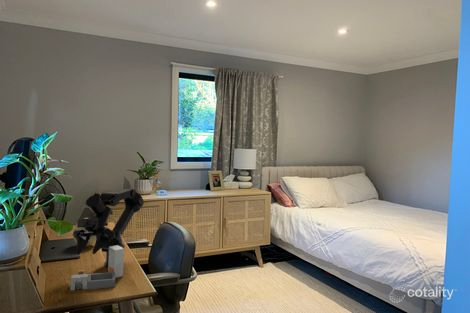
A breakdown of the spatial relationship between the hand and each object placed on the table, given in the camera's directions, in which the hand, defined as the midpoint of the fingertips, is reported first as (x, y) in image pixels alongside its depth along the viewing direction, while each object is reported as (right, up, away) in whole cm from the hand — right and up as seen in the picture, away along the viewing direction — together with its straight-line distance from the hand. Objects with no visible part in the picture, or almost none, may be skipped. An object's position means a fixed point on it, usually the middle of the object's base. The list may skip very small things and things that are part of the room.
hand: (85, 254), depth 136 cm
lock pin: (-2, -12, 0) cm, 12 cm away
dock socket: (+6, -12, 0) cm, 14 cm away
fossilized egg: (-20, -9, +46) cm, 51 cm away
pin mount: (-1, -12, -3) cm, 12 cm away
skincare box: (+9, -12, +9) cm, 18 cm away
